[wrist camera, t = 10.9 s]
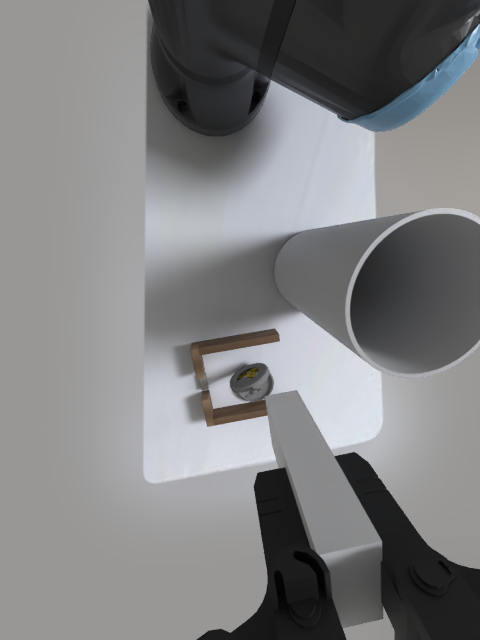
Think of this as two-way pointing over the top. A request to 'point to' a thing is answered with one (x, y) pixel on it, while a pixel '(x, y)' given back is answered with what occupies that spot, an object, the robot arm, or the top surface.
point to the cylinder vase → (391, 287)
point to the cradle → (211, 414)
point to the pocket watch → (252, 382)
